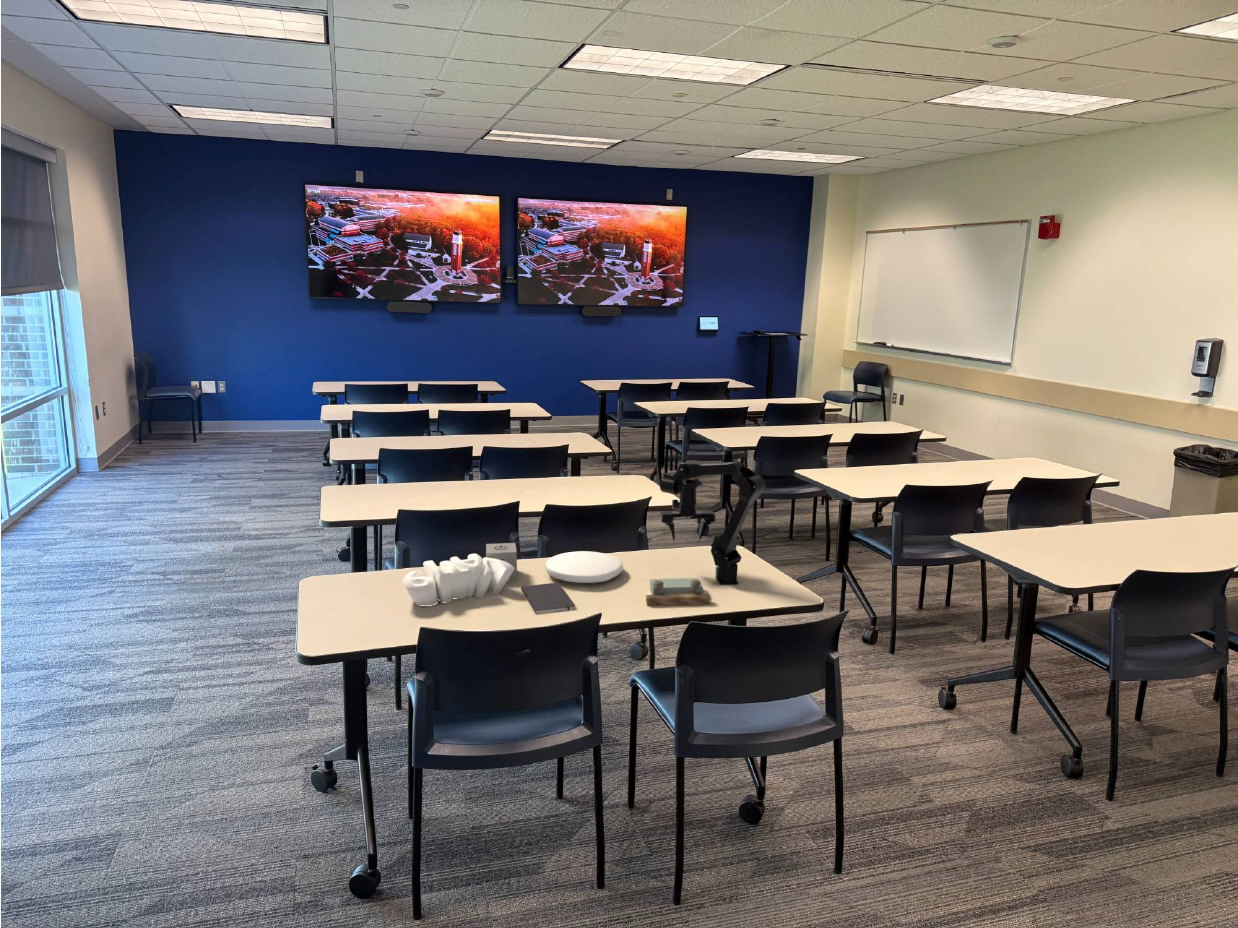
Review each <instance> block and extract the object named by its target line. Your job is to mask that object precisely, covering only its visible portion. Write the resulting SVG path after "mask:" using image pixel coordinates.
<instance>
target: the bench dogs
mask: <svg viewBox="0 0 1238 928" xmlns="http://www.w3.org/2000/svg"><path fill="white" fill-rule="evenodd" d="M701 584H702V582H701V580H700V579H699V580H692V581H691V584H690V594H665V595H663V582H662V581H654V582H653V595H652V594H646V595H645V604H646V603H647V604H646V606H647V607H649V606H648V605H651V606H650V607H654V606H655V607H657V606H659V605H660V606H686V605H687V606H689V605H692V606H693V605H696V604H697V605H710V604H711V595H710V593H703V594H700V587H701ZM697 605H696V606H697ZM660 606H659V607H660Z"/></svg>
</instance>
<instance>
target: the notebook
mask: <svg viewBox="0 0 1238 928" xmlns="http://www.w3.org/2000/svg"><path fill="white" fill-rule="evenodd" d="M520 590H521V592H522V594H523V595H524V597H525V598H526V601H527V602H528V603H529V605H530V607H531V609H532V610H533V612H534V613H535V615H537V614H545V613H552V612H562V611H570V610H574V609H575V607H576V604H575V603H574V601H573V600H572V599H571V597H570V596H569V595H568V593H567V592H566V591H565V589H564V588H563V587H562V585H561V584H560V583H559V582H549V583H540V584H532V585H531V584H530V585H524V586H520Z"/></svg>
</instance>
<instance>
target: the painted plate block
mask: <svg viewBox="0 0 1238 928" xmlns="http://www.w3.org/2000/svg"><path fill="white" fill-rule="evenodd" d="M692 580H699V581H700V579H699V577H688V578H687V577H685V578H683V577H682V578H679V577H677V578H650V579H649V590H650V595H653V582H654V581H662V582H663V595H665V594H690V584H691V581H692ZM703 590H704V586H703V584H702V583H701V587H700V594H704V593H703V592H704V591H703Z"/></svg>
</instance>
